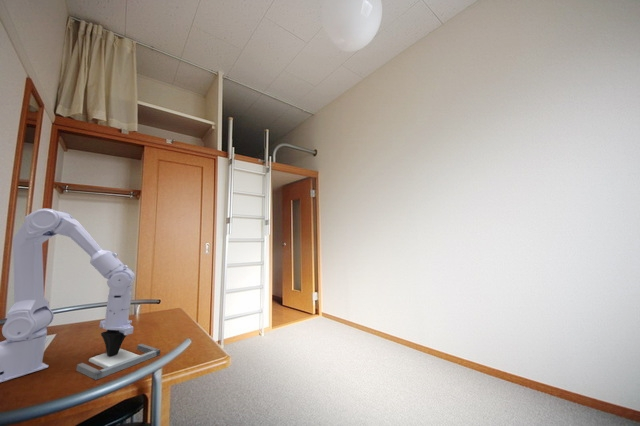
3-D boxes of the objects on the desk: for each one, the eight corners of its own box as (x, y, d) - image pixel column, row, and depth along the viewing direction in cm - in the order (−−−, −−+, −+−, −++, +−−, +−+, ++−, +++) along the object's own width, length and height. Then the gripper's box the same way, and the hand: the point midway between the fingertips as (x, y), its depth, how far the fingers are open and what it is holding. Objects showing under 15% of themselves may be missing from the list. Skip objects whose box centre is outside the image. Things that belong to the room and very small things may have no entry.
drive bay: (95, 380, 63) (96, 373, 63) (76, 370, 67) (77, 364, 67) (160, 354, 77) (160, 349, 78) (140, 348, 82) (141, 343, 82)
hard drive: (143, 356, 75) (120, 347, 80) (112, 367, 67) (89, 357, 72) (143, 361, 74) (120, 352, 80) (111, 374, 67) (88, 363, 72)
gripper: (146, 309, 77) (140, 355, 75) (120, 303, 83) (114, 345, 81) (120, 314, 70) (113, 365, 69) (94, 308, 76) (87, 354, 75)
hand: (112, 355), depth 74 cm, fingers closed, pressing on hard drive
